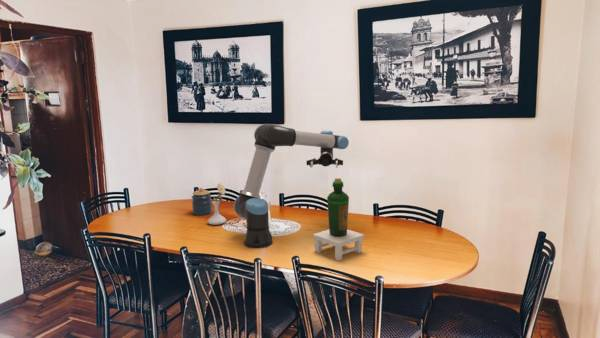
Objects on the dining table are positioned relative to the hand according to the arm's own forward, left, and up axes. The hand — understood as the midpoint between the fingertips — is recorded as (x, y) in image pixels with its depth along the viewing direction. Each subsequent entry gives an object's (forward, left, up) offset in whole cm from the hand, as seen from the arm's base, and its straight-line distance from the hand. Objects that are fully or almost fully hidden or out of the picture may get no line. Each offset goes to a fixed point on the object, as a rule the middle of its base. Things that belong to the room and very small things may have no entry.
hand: (323, 165), depth 227 cm
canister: (-25, +93, -41) cm, 105 cm away
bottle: (-10, -21, -31) cm, 39 cm away
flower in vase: (-29, +65, -40) cm, 82 cm away
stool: (-10, -21, -40) cm, 46 cm away
